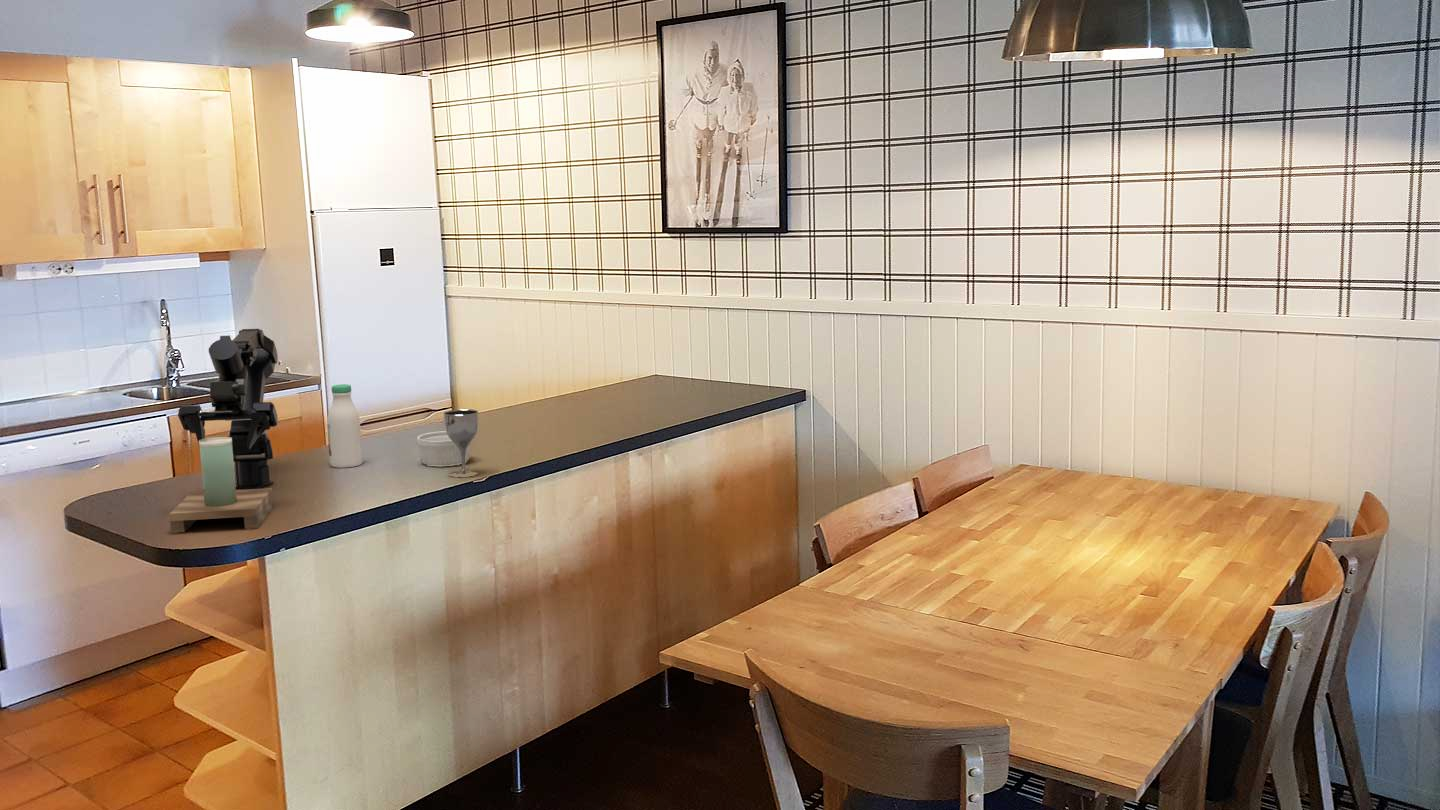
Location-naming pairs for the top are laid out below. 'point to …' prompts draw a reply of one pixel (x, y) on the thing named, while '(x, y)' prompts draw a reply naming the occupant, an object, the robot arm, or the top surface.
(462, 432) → the wine glass
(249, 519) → the wooden pallet
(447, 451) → the ramekin
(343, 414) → the milk bottle
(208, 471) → the tumbler
